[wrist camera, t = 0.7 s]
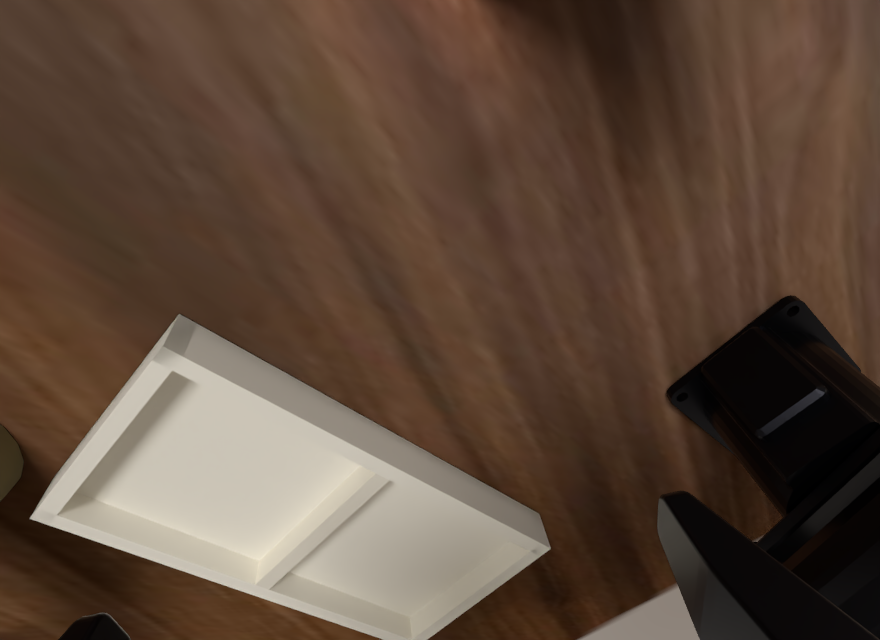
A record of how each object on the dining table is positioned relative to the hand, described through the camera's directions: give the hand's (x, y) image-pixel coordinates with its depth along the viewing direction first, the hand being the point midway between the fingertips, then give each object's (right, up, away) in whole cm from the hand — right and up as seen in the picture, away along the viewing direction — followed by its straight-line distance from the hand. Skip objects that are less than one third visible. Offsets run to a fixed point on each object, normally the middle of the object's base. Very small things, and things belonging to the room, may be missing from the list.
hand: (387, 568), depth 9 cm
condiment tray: (-5, -4, +17) cm, 18 cm away
